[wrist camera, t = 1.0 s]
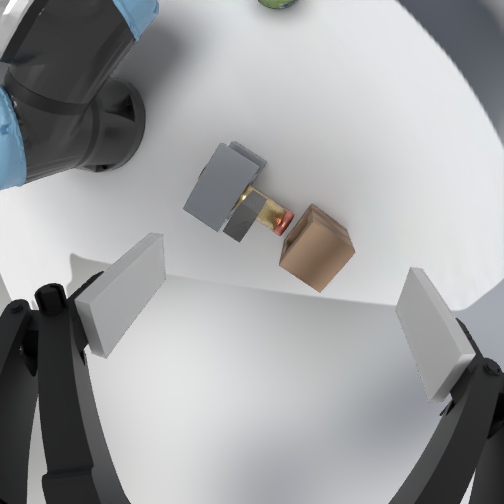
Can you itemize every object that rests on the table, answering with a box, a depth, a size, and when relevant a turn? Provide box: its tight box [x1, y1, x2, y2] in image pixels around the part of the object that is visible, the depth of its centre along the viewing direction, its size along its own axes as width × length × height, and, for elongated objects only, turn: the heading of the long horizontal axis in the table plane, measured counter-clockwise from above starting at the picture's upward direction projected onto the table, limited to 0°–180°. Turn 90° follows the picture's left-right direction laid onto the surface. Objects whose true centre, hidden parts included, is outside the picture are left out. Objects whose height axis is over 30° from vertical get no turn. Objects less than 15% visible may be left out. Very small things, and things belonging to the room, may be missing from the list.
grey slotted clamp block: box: [183, 142, 266, 232], centre depth 35 cm, size 5×9×7 cm, turn 148°
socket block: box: [279, 204, 355, 293], centre depth 36 cm, size 6×6×8 cm
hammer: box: [198, 165, 294, 242], centre depth 32 cm, size 12×4×10 cm, turn 58°
